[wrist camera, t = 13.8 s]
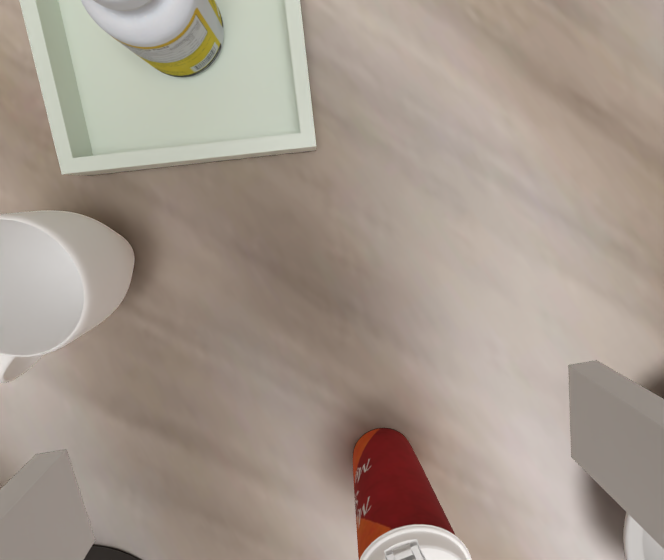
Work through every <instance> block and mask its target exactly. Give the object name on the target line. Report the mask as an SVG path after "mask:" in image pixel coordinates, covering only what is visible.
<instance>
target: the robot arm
mask: <svg viewBox="0 0 664 560" xmlns="http://www.w3.org/2000/svg"><path fill="white" fill-rule="evenodd" d="M568 369H569V401H570V434H571V457H572V458H573V459H574V460H575V461H576V462H577V463H578V464H579V465H580V466H581V467H582V468H583V469H584V470H585V471H586V472H587V473H588V474H589V475H590V476H591V477H592V478H593V479H594V480H595V481H596V482H597V483H598V484H599V485H600V486H601V487H602V488H603V489H604V490H605V491H606V492H607V493H608V494H609V495H610V496H611V497H612V498H613V499H614V500H615V501H616V502H617V503H618V504H619V505H620V506H621V507H622V508H623V509H624V510H625V511H626V512H627V513H628V514H629V515H630V516H631V517H632V518H633V519H634V520H635V521H636V522H637V523H638V524H639V525H640V526H641V527H642V528H643V529H644V530H645V531H646V532H647V533H648V534H649V535H650V536H651V537H652V538H653V539H654V540H655V541H656V542H657V543H658V544H659V545H660V546H661V547H662V548H663V549H664V399H663V398H661V397H659V396H658V395H656V394H654V393H652V392H651V391H649V390H647V389H645V388H644V387H642V386H640V385H639V384H637V383H635V382H633V381H632V380H630V379H628V378H626V377H625V376H623V375H621V374H619V373H618V372H616V371H614V370H613V369H611V368H609V367H607V366H606V365H604V364H602V363H600V362H599V361H597V360H595V361H589V362H583V363H577V364H571V365H568ZM94 542H95V537H94V534H93V531H92V528H91V525H90V521H89V518H88V515H87V512H86V509H85V506H84V503H83V499H82V496H81V493H80V490H79V487H78V484H77V481H76V477H75V474H74V471H73V468H72V465H71V462H70V459H69V455H68V452H67V449H65V450H59V451H53V452H47V453H41V454H36V455H35V456H34V457H33V458H32V459H31V460H30V461H29V462H28V463H27V464H26V465H25V466H24V467H23V468H22V469H21V470H20V471H18V472H17V473H16V474H15V475H14V476H13V477H12V478H11V479H10V480H9V481H8V482H7V483H6V484H5V485H4V486H3V487H2V488H1V489H0V560H138V559H136V558H134V557H132V556H130V555H128V554H126V553H123V552H121V551H118V550H114V549H110V548H105V547H98V546H92V545H93V543H94Z"/></svg>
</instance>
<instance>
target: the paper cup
mask: <svg viewBox="0 0 664 560" xmlns="http://www.w3.org/2000/svg"><path fill="white" fill-rule="evenodd" d="M353 475H354V493H355V509H356V524H357V539H358V555H359V560H471V556H470V554H469V552H468V549H467V548H466V546H465V545H464V543H463V542H462V541H461V540H460V539H459V538H458V537H457V536H456V535H455V533H454V531H453V529H452V527H451V525H450V523H449V521H448V519H447V517H446V515H445V513H444V511H443V509H442V507H441V505H440V503H439V501H438V499H437V497H436V495H435V493H434V491H433V489H432V487H431V485H430V483H429V481H428V479H427V477H426V475H425V472H424V470H423V468H422V466H421V464H420V463H419V461H418V459H417V457H416V455H415V453H414V451H413V449H412V447H411V445H410V444H409V442H408V440H407V439H406V438H405V437H404V436H403V435H402V434H401V433H399V432H398V431H396V430H393V429H389V428H379V429H374V430H371V431H369V432H367V433H366V434H364V435H363V436H362V437H361V438H360V439H359V440H358V442H357V443H356V445H355V448H354V452H353Z"/></svg>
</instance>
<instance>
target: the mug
mask: <svg viewBox="0 0 664 560" xmlns="http://www.w3.org/2000/svg"><path fill="white" fill-rule="evenodd" d="M134 262H135V257H134V252H133V249H132V247H131V245H130V244H129V242H128V241H127V240H126V239H125V238H124V237H122V236H121V235H120V234H118V233H117V232H115V231H114V230H112V229H111V228H109V227H108V226H106V225H105V224H103V223H101V222H99V221H97V220H95V219H93V218H90V217H88V216H85V215H82V214H78V213H74V212H68V211H58V210H43V211H29V212H17V213H6V214H0V383H7V382H10V381H12V380H14V379H16V378H18V377H19V376H21V375H22V374H24V373H25V372H26V371H27V370H29V369H30V368H31V367H32V366H33V365H34V364H35V363H36V362H37V361H38V360H39V359H40V358H41V357H42V356H43V355H44V354H47V353H50V352H53V351H56V350H58V349H60V348H62V347H64V346H66V345H67V344H69V343H71V342H72V341H74V340H76V339H77V338H79V337H80V336H82V335H83V334H85V333H86V332H88V331H89V330H91V329H93V328H94V327H96V326H97V325H99V324H100V323H101V322H103V321H104V320H105V319H106V318H108V317H109V316H110V315H111V314H112V313H113V312H114V311H115V310H116V309H117V307H118V306H119V305H120V303H121V302H122V300H123V299H124V297H125V295H126V293H127V291H128V288H129V285H130V282H131V278H132V273H133V268H134Z"/></svg>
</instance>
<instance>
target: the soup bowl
mask: <svg viewBox="0 0 664 560" xmlns="http://www.w3.org/2000/svg"><path fill="white" fill-rule="evenodd" d="M623 545H624V554H625V558H626V560H664V549H663V548H662V547H661V546H660V545H659V544H658V543H657V542H656V541H655V540H654V539H653V538H652V537H651V536H650V535H649V534H648V533H647V532H646V531H645V530H644V529H643V528H642V527H641V526H640V525H639V524H638V523H637V522H636V521H635V520H634V519H633V518H632V517H631V516H630V515H629V514H628V513H627V512H626V516H625V522H624V530H623Z"/></svg>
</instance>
